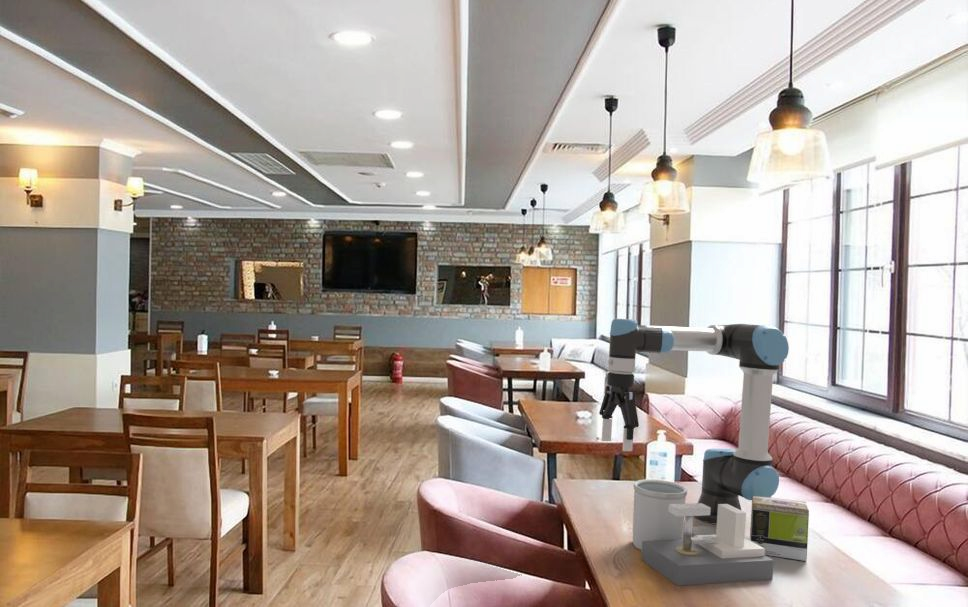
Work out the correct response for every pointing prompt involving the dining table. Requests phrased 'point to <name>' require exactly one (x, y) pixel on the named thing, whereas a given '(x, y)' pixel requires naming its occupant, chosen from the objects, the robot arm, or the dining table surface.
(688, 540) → the t key
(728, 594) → the dining table surface
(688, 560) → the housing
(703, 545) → the cover
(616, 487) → the dining table surface
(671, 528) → the utensil holder
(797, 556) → the tea box
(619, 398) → the robot arm
